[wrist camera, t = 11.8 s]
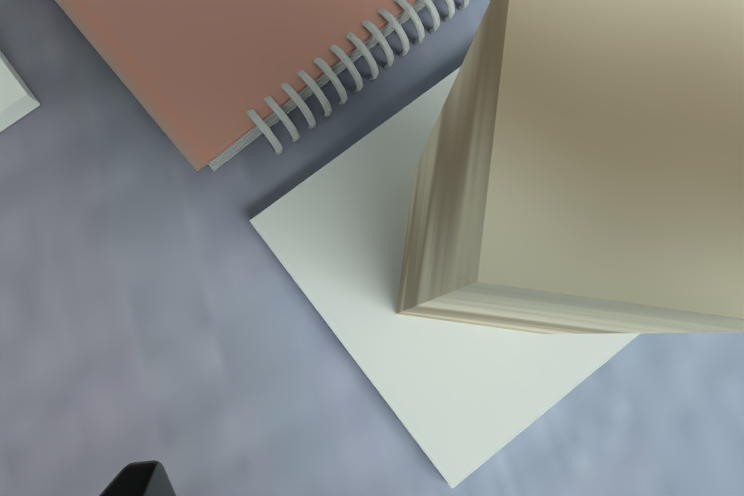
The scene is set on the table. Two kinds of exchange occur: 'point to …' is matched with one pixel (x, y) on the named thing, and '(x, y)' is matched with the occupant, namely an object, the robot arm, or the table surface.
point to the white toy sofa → (13, 95)
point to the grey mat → (408, 333)
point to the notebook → (239, 60)
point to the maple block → (586, 173)
